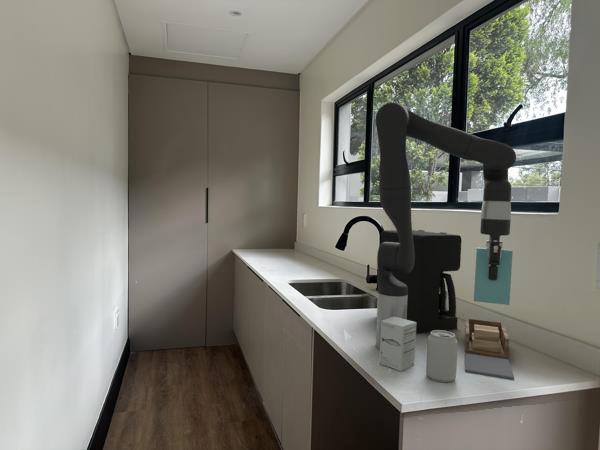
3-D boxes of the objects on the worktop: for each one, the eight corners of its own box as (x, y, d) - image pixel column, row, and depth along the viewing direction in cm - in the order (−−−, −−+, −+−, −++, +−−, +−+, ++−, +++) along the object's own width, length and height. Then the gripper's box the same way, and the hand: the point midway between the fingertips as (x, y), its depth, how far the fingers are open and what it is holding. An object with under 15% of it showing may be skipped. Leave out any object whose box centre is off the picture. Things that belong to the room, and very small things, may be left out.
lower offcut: (500, 352, 128) (500, 342, 128) (471, 348, 131) (472, 339, 131) (498, 345, 135) (498, 336, 135) (471, 341, 138) (471, 332, 137)
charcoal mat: (513, 379, 111) (514, 377, 111) (465, 371, 115) (465, 369, 115) (508, 361, 124) (508, 359, 124) (464, 354, 128) (465, 353, 128)
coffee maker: (467, 331, 152) (472, 235, 151) (425, 337, 144) (430, 235, 142) (415, 312, 178) (418, 229, 176) (377, 316, 169) (380, 229, 167)
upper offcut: (498, 342, 129) (499, 332, 129) (474, 338, 131) (474, 329, 131) (497, 336, 134) (497, 327, 134) (473, 333, 137) (474, 324, 137)
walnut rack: (507, 359, 126) (509, 336, 125) (464, 352, 130) (466, 330, 130) (503, 342, 141) (504, 322, 140) (464, 337, 145) (465, 317, 145)
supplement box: (378, 364, 119) (380, 320, 118) (392, 357, 124) (394, 315, 123) (401, 372, 114) (403, 326, 113) (415, 365, 119) (417, 321, 118)
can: (436, 385, 106) (438, 338, 106) (420, 373, 113) (422, 329, 113) (462, 382, 108) (464, 336, 108) (444, 370, 115) (446, 327, 115)
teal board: (509, 305, 116) (512, 250, 115) (474, 301, 119) (477, 248, 118) (508, 302, 119) (511, 249, 118) (473, 299, 122) (476, 247, 121)
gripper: (513, 218, 110) (509, 284, 111) (507, 217, 123) (504, 276, 124) (482, 217, 112) (478, 281, 113) (480, 216, 125) (476, 274, 126)
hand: (492, 278), depth 118 cm, fingers closed on teal board, 3 cm apart
